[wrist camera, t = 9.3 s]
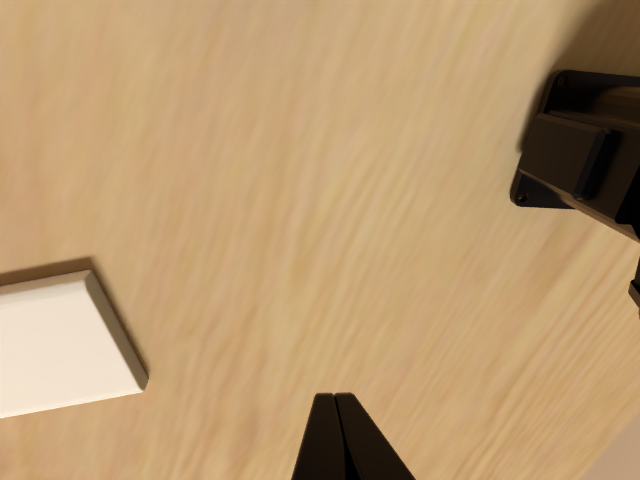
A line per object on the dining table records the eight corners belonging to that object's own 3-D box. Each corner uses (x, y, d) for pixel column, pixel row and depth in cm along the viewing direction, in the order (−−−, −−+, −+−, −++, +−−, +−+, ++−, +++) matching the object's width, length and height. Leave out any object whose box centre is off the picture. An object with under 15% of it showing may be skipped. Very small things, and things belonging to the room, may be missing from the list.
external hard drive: (151, 373, 24) (-46, 411, 24) (95, 264, 20) (-140, 307, 20) (143, 394, 22) (-67, 435, 22) (81, 281, 19) (-173, 328, 18)
